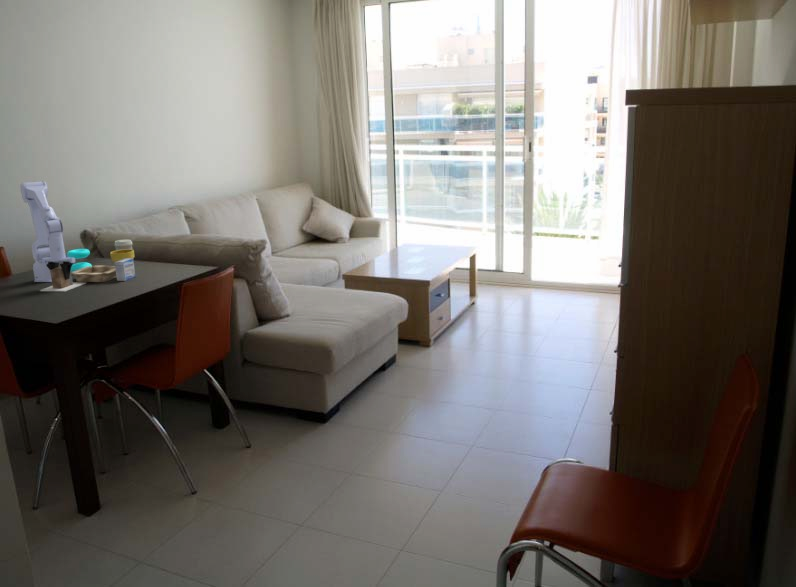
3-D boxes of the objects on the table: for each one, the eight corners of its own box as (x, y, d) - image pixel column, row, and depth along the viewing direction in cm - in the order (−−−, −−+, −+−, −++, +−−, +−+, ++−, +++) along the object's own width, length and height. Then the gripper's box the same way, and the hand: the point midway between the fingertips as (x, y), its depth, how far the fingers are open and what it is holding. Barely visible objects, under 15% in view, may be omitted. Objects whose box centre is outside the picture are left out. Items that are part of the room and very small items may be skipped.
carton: (67, 282, 302) (66, 273, 301) (92, 274, 319) (90, 265, 317) (106, 283, 298) (104, 274, 297) (128, 274, 314) (127, 265, 313)
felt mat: (40, 291, 289) (39, 290, 289) (62, 283, 302) (62, 282, 302) (64, 291, 287) (64, 290, 287) (86, 283, 300) (85, 282, 300)
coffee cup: (119, 263, 340) (116, 239, 337) (137, 262, 341) (134, 238, 338) (114, 267, 332) (111, 242, 329) (133, 265, 333) (129, 241, 330)
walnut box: (52, 288, 291) (49, 269, 289) (64, 284, 298) (60, 266, 296) (62, 288, 290) (59, 270, 288) (73, 284, 297) (70, 266, 295)
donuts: (94, 249, 326) (75, 253, 318) (97, 269, 328) (78, 273, 320) (80, 247, 331) (62, 251, 323) (84, 267, 333) (65, 272, 325)
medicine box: (125, 281, 301) (123, 262, 299) (116, 281, 302) (114, 262, 300) (136, 277, 309) (133, 258, 306) (127, 276, 310) (124, 258, 307)
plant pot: (110, 274, 315) (107, 254, 313) (116, 270, 325) (113, 249, 322) (134, 273, 317) (131, 252, 314) (138, 268, 326) (135, 248, 324)
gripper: (35, 249, 288) (41, 281, 291) (65, 249, 285) (70, 281, 288) (47, 246, 295) (52, 277, 298) (76, 246, 291) (81, 277, 295)
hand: (62, 279), depth 294 cm, fingers closed on walnut box, 4 cm apart
